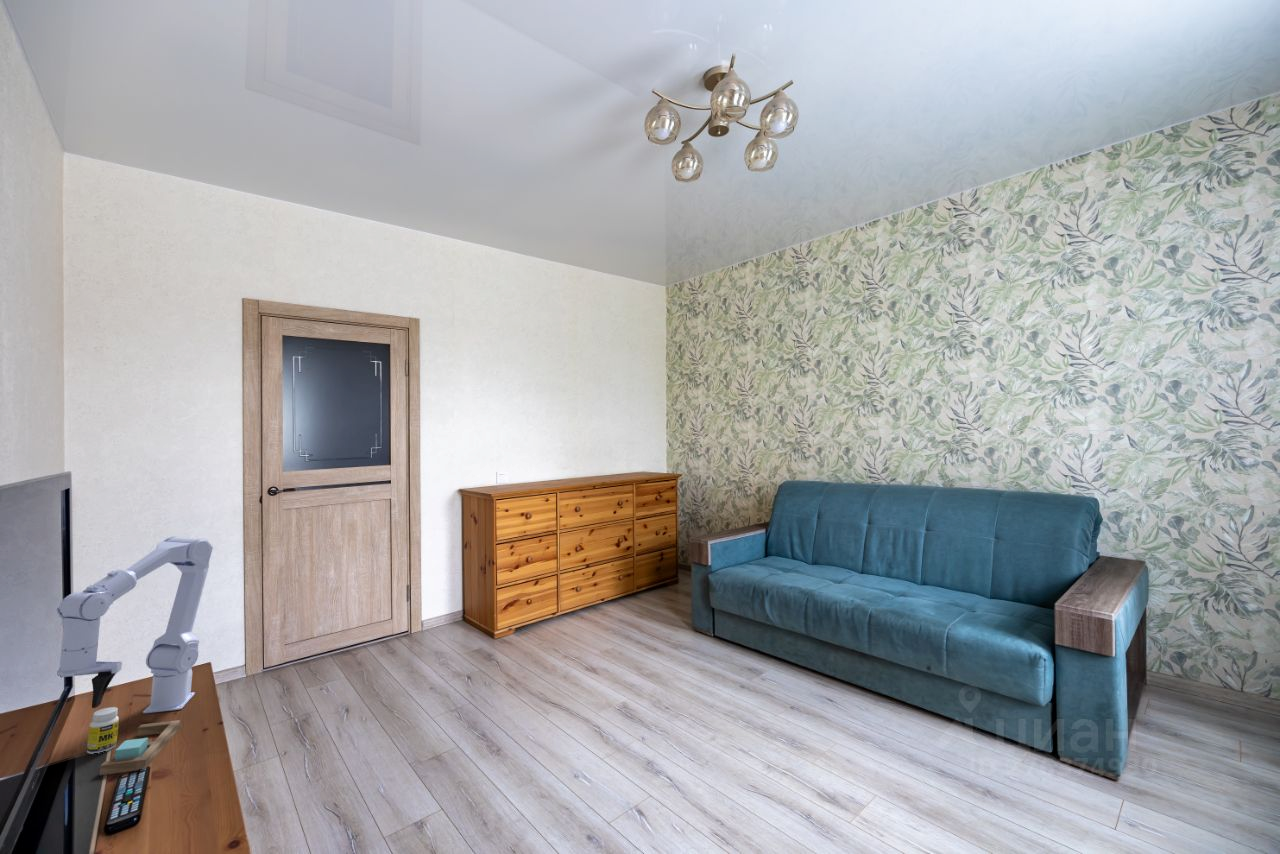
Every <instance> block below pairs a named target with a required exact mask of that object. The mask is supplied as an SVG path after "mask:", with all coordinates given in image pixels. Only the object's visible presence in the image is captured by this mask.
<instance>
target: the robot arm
mask: <svg viewBox="0 0 1280 854" xmlns="http://www.w3.org/2000/svg"><path fill="white" fill-rule="evenodd" d="M213 549H214V547H213V546H212V544H211V543H210V542H209V540H208V539H206V538H201V537H200V538H194V537H193V538H191V537H178V536H169V537H167V538H165V539H164V540H163V541H161V542H158V543H157V545H156V547H155V549H153V550H152V551H150V552H149V553H148V554H146V555H145V556H144V557H142V558H141V559H139V560H138V561H135V563H133V564H132V565H131V566H129V567H128V568H126V570H125V569H117V570H111V571H109V572H108V573H106V576H105V577H103V578H101V579H100V580H98V581H97V582H95V583H93V584H89V585H88V586H86V588H85V589H83V591H76V592H72V593H70V594H68V595H66V596H65V597H64V598H63V599H62V600H61V602H60V604H59V606H58V607H56V614H57V615H58V617H59V618H61V623H60V624H61V625H62V626H63V627H62V628H63V629H62V636H61V637H62V638H61V648H60V658H59V665H60V667H59V670H58V671H57V675H58V676H60V677H61V678H66V677H69V678H70V677H76V676H87V675H88V676H90V675H95V676H94V677H92V678H91V684H92V685H91V686H92V699H91V700H92V701H91V709H95V708H98V707H99V706H100V705H101V704H102V702H103V697H104V695H105V693H106V692H107V691H106V690H107V689H108V686H109V685H110V683H111V682H112V680H113V679H114V677H115V676H116V674H118V673H119V672H120V671H121V670H122V666H123V665H122V664H123V661H122V660H121V661H101V660H100V661H99V660H98V661H97V658H98V647H99V636H100V627H101V626H100V624H101V617H103V616H104V615H105V614H106V613H107V612H108V610H109V609H110V606H111V605H113V604H114V602H116V600H118V599H120V598H121V597H123V596H124V595H125V594H127V593H129V592H131V590H134V588H136V586H137V581H138V580H140V579H141V578H144V577H145V576H147V575H148V574H150V573H152V572H154V571H156V570H157V569H159V568H160V567H162V566H164V565H166V564H168V563H169V564H171V565H173V566H175V567H176V568H177V569H178V570H179V571H180V572H181V575H180V579H179V583H178V586H177V590H176V593H175V596H174V597H175V598H174V599H173V600H174V601H173V604H172V608H171V611H170V615H169V618H168V622H167V626H166V629H165V633H164V634H161V635H160V636H158V637H157V638H156V639H154V642H153V645H152V648H151V649H150V650H149V652H148V654H147V656H146V658H145V664H146V667H147V668H148V669H149V670H150V673H151V674H152V684H151V694H150V695H151V697H150V704H149V705H148V706H147V707H145V709H144V710H143V711H142V714H152V713H161V712H162V713H163V712H169V711H177V710H182V709H183V707H185V706H186V705H187V703H188V702H189V701H190V700H191V699H192V698H193V697H194V696H195V694H196V692H194V691H193V692H191V691H192V681H193V680H192V679H193V670H192V668H193V666H194V665H195V664H196V663H197V661H198V659H199V644H200V640H199V639H198V638H197V637H196V636H195V635H194V634H193V632H192V631H193V627H194V624H195V619H196V617H197V613H198V609H199V605H200V603H201V598H202V594H203V590H204V586H205V582H206V580H207V579H206V578H207V576H208V572H209V568H210V559H211V555H212V552H213Z"/></svg>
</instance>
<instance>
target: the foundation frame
mask: <svg viewBox="0 0 1280 854" xmlns="http://www.w3.org/2000/svg"><path fill="white" fill-rule="evenodd" d="M180 726H181V720H180V719H179V720H169V721H160V722H153V723H144V724H140V725H139V726H138V727H137V736H136V737H142V736H151V735H159V736H158V737H156V739H155V740H154V741H148V746H147V750H146V751H145V752H144V753H143V755H142V756H141V757H136V758H128V759H121V760H115V759H114V760H113V759H112V760H107V761H104V762H103V763H101V765H100V767H99V773H98V774H99V775H98V776H104V775H113V774H118V773H119V774H121V773H126V772H133V771H134V772H135V771H140V770H139V769H142V770H144V769H143V768H145V769H147V767H148V766H149V765H150V764H151V763H152V762H153V760H154V759H155V758H156V757H157V756H158V755H159V753H160V752H161V751H162V750H163V749H164V747H166V745H167V744H168V743H169V741H170V740H171V739H172V738H173V737H174V735H175V734H176V733H177V732H178V731H179V730H180V729H181V727H180Z"/></svg>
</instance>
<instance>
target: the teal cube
mask: <svg viewBox="0 0 1280 854" xmlns="http://www.w3.org/2000/svg"><path fill="white" fill-rule="evenodd" d="M148 742H149V737H144V738H133V739H128V740H124V741H123V742H122V743H121V744H120V745H119V746H118V747H117V748H116V749H115V750H114V752H115V754H114V760H121V759H128V758H136V757H141V756H142V755H143V753H144V752H145V751H146V750H147V746H148Z"/></svg>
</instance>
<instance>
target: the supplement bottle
mask: <svg viewBox="0 0 1280 854" xmlns="http://www.w3.org/2000/svg"><path fill="white" fill-rule="evenodd" d="M118 710H119V709H118V707H116V706H112V707H104V708H100V709H98V710H96V711H94V712H93V715H92V721H91V722H90V723H89V727H88V728H89V729H88V736H87V747H86V753H87V754H88V755H89V754H90V755H95V754H94V753H98V754H100V753H99V752H103V751H106V752H108V751H110V750H112V749H113V748H115V747H116V746H117V741H118V740H117V739H118V729H119V723H120V722H119V721H120V717H119V716H118V714H119V712H118ZM103 753H104V752H103Z"/></svg>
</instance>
